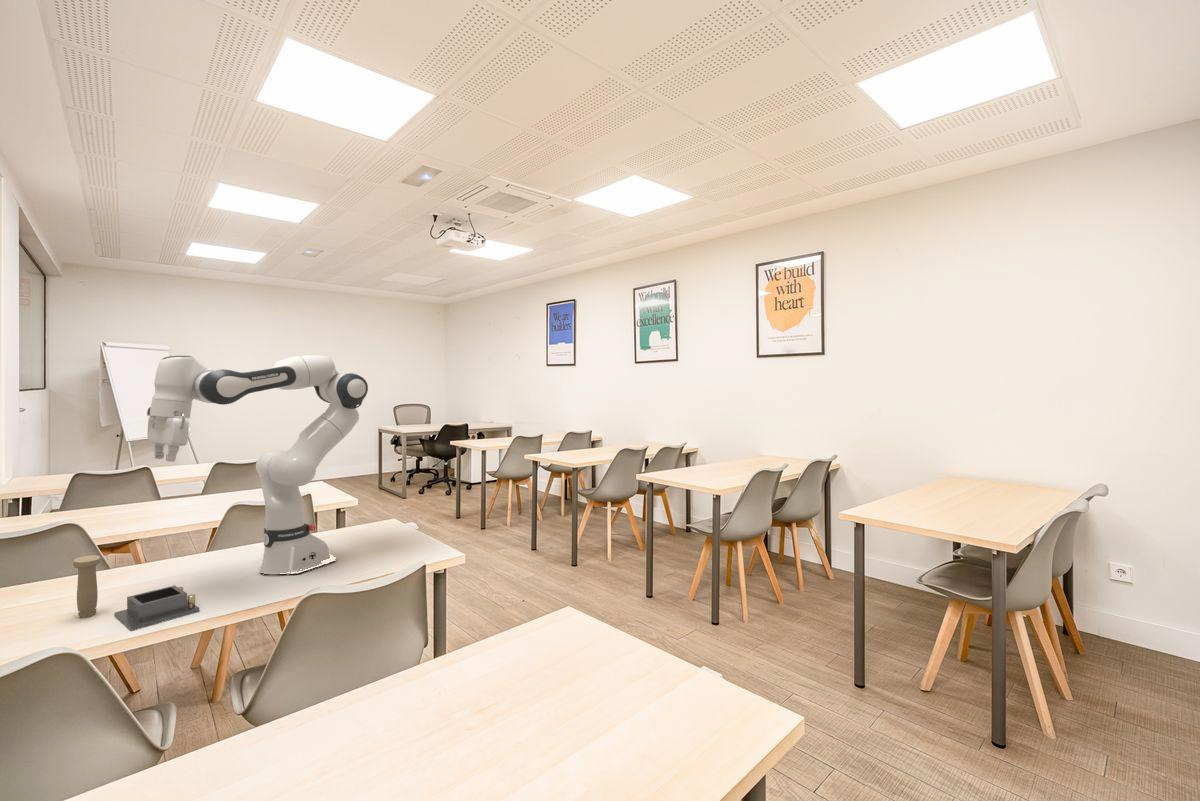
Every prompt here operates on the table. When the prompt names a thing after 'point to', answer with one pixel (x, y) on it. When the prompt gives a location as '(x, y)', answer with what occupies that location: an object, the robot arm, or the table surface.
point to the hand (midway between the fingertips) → (164, 460)
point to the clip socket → (156, 607)
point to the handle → (86, 585)
